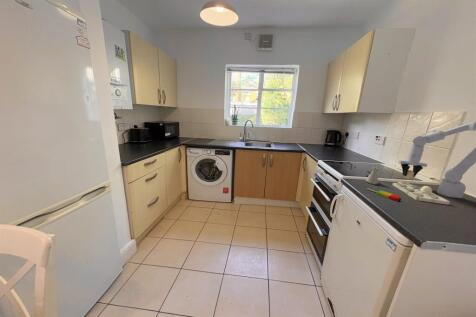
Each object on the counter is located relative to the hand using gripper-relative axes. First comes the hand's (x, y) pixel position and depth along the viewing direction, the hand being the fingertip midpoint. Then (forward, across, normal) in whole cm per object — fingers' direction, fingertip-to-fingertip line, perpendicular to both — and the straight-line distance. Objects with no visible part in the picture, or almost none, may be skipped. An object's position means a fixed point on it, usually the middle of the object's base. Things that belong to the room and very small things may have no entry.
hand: (408, 176), depth 119 cm
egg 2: (+6, +1, +17) cm, 18 cm away
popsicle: (+7, +26, +25) cm, 37 cm away
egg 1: (+1, 0, 0) cm, 1 cm away
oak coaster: (+6, 0, 0) cm, 6 cm away
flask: (+6, +22, +5) cm, 24 cm away
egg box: (+6, +4, +17) cm, 18 cm away
